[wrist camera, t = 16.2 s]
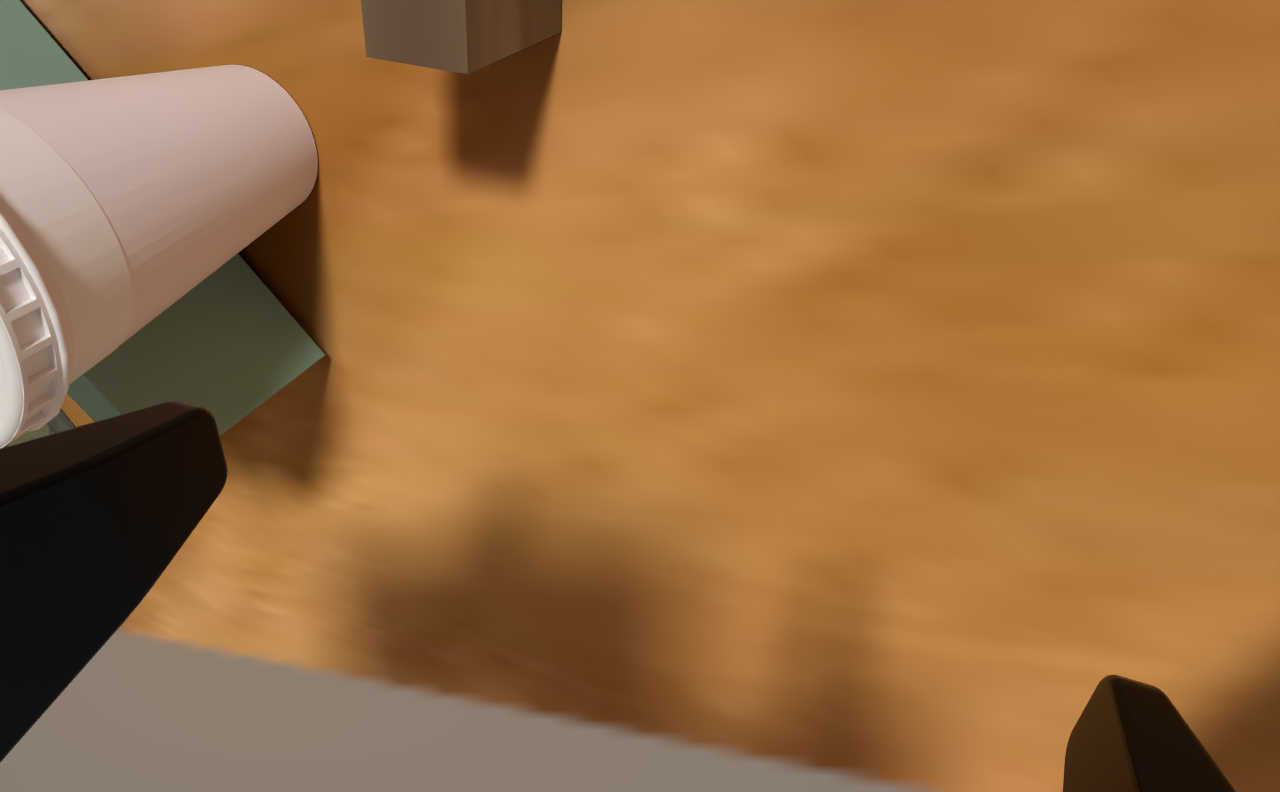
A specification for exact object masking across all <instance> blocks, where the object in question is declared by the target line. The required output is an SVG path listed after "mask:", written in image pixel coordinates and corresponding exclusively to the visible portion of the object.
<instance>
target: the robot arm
mask: <svg viewBox="0 0 1280 792" xmlns="http://www.w3.org/2000/svg"><path fill="white" fill-rule="evenodd" d="M227 472H228V469H227V463H226V459H225V455H224V451H223V447H222V443H221V439H220V435H219V431H218V427H217V422H216V420H215V417H214V416H213V414H212V413H211V412H210V411H209V410H207V409H205V408H202V407H199V406H196V405H192V404H189V403H185V402H182V401H168V402H164V403H160V404H157V405H153V406H150V407H146V408H142V409H139V410H135V411H132V412H128V413H125V414H121V415H118V416H114V417H110V418H107V419H103V420H100V421H96V422H93V423H89V424H86V425H82V426H78V427H75V428H71V429H68V430H64V431H61V432H57V433H54V434H50V435H46V436H43V437H39V438H36V439H32V440H29V441H25V442H22V443H18V444H14V445H11V446H7V447H4V448H0V762H1V761H2V760H3V759H4V758H5V757H6V755H7V754H8V753H9V752H10V751H11V750H12V749H13V747H14V746H15V745H16V744H17V743H18V742H19V741H20V739H21V738H22V737H23V736H24V735H25V734H26V733H27V732H28V730H29V729H30V728H31V727H32V726H33V724H35V722H36V721H37V720H38V719H39V718H40V717H41V715H42V714H43V713H44V712H45V711H46V710H47V709H48V708H49V707H50V705H51V704H52V703H53V702H54V701H55V700H56V699H57V697H58V696H59V695H60V694H61V693H62V692H63V691H64V689H65V688H66V687H67V686H68V685H69V684H70V683H71V682H72V680H73V679H74V678H75V677H76V676H77V675H78V674H79V672H80V671H81V670H82V669H83V668H84V667H85V666H86V664H87V663H88V662H89V661H90V660H91V659H92V657H93V656H94V655H95V654H96V653H97V652H98V651H99V650H100V648H101V647H102V646H103V645H104V644H105V643H106V642H107V641H108V639H109V638H110V637H111V636H112V635H113V634H114V633H115V631H116V630H117V629H118V628H119V627H120V626H121V625H122V624H123V622H124V621H125V620H126V619H127V618H128V616H129V615H130V614H131V613H132V612H133V611H134V609H135V608H136V607H137V606H138V605H139V603H140V602H141V601H142V599H143V598H144V597H145V596H146V594H147V593H148V592H149V590H150V589H151V588H152V586H153V585H154V584H155V582H156V581H157V580H158V578H159V577H160V575H161V574H162V573H163V571H164V570H165V569H166V567H167V566H168V564H169V563H170V562H171V560H172V559H173V558H174V556H175V555H176V553H177V552H178V551H179V549H180V548H181V546H182V545H183V544H184V542H185V541H186V540H187V538H188V537H189V535H190V534H191V533H192V531H193V530H194V529H195V527H196V526H197V524H198V523H199V522H200V520H201V519H202V518H203V516H204V515H205V513H206V512H207V511H208V509H209V508H210V506H211V505H212V504H213V502H214V501H215V500H216V498H217V497H218V495H219V494H220V493H221V491H222V489H223V487H224V485H225V483H226V479H227ZM1063 792H1236V791H1235V790H1234V789H1233V787H1232V786H1231V784H1230V783H1229V782H1228V780H1227V779H1226V778H1225V776H1224V775H1223V773H1222V772H1221V771H1220V769H1219V768H1218V766H1217V765H1216V764H1215V762H1214V761H1213V759H1212V758H1211V757H1210V755H1209V754H1208V752H1207V751H1206V750H1205V748H1204V747H1203V745H1202V744H1201V743H1200V741H1199V740H1198V738H1197V737H1196V736H1195V734H1194V733H1193V731H1192V730H1191V729H1190V727H1189V726H1188V724H1187V723H1186V722H1185V720H1184V719H1183V718H1182V716H1181V715H1180V713H1179V712H1178V711H1177V709H1176V708H1175V706H1174V705H1173V704H1172V702H1171V701H1170V699H1169V698H1168V697H1167V696H1166V694H1164V693H1163V692H1162V691H1161V690H1160V689H1158V688H1157V687H1154V686H1152V685H1148V684H1145V683H1142V682H1138V681H1135V680H1131V679H1128V678H1125V677H1121V676H1118V675H1108V676H1106V677H1105V678H1103V679H1102V680H1101V681H1100V682H1099V684H1098V685H1097V687H1096V689H1095V691H1094V693H1093V694H1092V696H1091V698H1090V700H1089V702H1088V703H1087V705H1086V707H1085V709H1084V711H1083V712H1082V714H1081V716H1080V718H1079V719H1078V721H1077V723H1076V725H1075V727H1074V728H1073V730H1072V732H1071V735H1070V738H1069V741H1068V745H1067V749H1066V755H1065V767H1064V783H1063Z"/></svg>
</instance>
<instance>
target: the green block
mask: <svg viewBox="0 0 1280 792" xmlns="http://www.w3.org/2000/svg"><path fill="white" fill-rule="evenodd" d="M80 81H89V80H88V79H87V78H86V77H85V76H84V75H83V73H82V72H81V71H80V70H79V69H78V68H77V67H76V65H75V64H74V63H73V62H72V61H71V60H70V58H69V57H68V56H67V55H66V54H65V53H64V51H63V50H62V49H61V48H60V47H59V46H58V44H57V43H56V42H55V41H54V40H53V39H52V38H51V36H50V35H49V34H48V33H47V32H46V31H45V29H44V28H43V27H42V26H41V25H40V24H39V22H38V21H37V20H36V19H35V18H34V17H33V15H32V14H31V13H30V12H29V11H28V10H27V9H26V7H25V6H24V5H23V4H22V3H21V2H20V0H0V90H8V89H17V88H26V87H35V86H44V85H53V84H62V83H71V82H80ZM323 356H325V354H324V353H323V352H322V351H321V349H320V348H319V347H318V346H317V345H316V344H315V343H314V341H313V340H312V339H311V338H310V337H309V336H308V334H307V333H306V332H305V331H304V330H303V329H302V327H301V326H300V325H299V324H298V323H297V322H296V320H295V319H294V318H293V317H292V316H291V315H290V314H289V312H288V311H287V310H286V309H285V308H284V307H283V305H282V304H281V303H280V302H279V301H278V300H277V298H276V297H275V296H274V295H273V294H272V293H271V291H270V290H269V289H268V288H267V287H266V286H265V285H264V283H263V282H262V281H261V280H260V279H259V278H258V276H257V275H256V274H255V273H254V272H253V271H252V269H251V268H250V267H249V266H248V265H247V264H246V263H245V261H244V260H243V259H242V258H241V257H240V256H239V254H238V253H237V254H236V255H235V256H233V257H232V258H231V259H230V260H228V261H227V262H226V263H224V264H223V265H222V266H221V267H219V268H218V269H217V270H216V271H214V272H213V273H212V274H210V275H209V276H208V277H207V278H205V279H204V280H203V281H201V282H200V283H199V284H198V285H196V286H195V287H194V288H193V289H191V290H190V291H189V292H187V293H186V294H185V295H184V296H182V297H181V298H180V299H178V300H177V301H176V302H175V303H173V304H172V305H171V306H170V307H168V308H167V309H166V310H164V311H163V312H162V313H161V314H159V315H158V316H157V317H155V318H154V319H153V320H152V321H150V322H149V323H148V324H147V325H145V326H144V327H143V328H141V329H140V330H139V331H138V332H136V333H135V334H134V335H132V336H131V337H130V338H129V339H127V340H126V341H125V342H124V343H122V344H121V345H120V346H119V347H118V348H117V349H115V350H114V351H113V352H112V353H111V354H109V355H108V356H107V357H105V358H104V359H103V360H101V361H100V362H99V363H97V364H96V365H95V366H93V367H92V368H91V369H89V370H88V371H87V372H85V373H84V374H83V375H81V376H80V377H79V378H77V379H76V380H75V381H73V382H72V383H71V384H69V390H68V392H67V393H68V395H69V396H70V397H71V398H72V399H73V400H74V401H75V402H76V403H77V404H78V405H79V406H80V407H81V408H82V409H83V410H84V411H85V412H86V413H87V414H88V415H89V416H90V417H91V418H92V419H93V420H94V421H95V422H96V421H100V420H103V419H107V418H110V417H114V416H118V415H121V414H125V413H128V412H132V411H135V410H139V409H142V408H146V407H150V406H153V405H157V404H160V403H164V402H168V401H182V402H185V403H189V404H192V405H196V406H199V407H202V408H205V409H207V410H209V411H210V412H211V413H212V414H213V416H214V417H215V420H216V422H217V427H218V431H219V435H220V436H221V435H222V434H223V433H225V432H226V431H227V430H229V429H230V428H231V427H233V426H234V425H235V424H236V423H238V422H239V421H240V420H242V419H243V418H244V417H245V416H247V415H248V414H249V413H251V412H252V411H253V410H255V409H256V408H257V407H258V406H260V405H261V404H262V403H264V402H265V401H266V400H268V399H269V398H270V397H271V396H273V395H274V394H275V393H277V392H278V391H279V390H280V389H282V388H283V387H284V386H286V385H287V384H288V383H290V382H291V381H292V380H293V379H295V378H296V377H297V376H299V375H300V374H301V373H303V372H304V371H305V370H306V369H308V368H309V367H310V366H312V365H313V364H314V363H315V362H317V361H318V360H319V359H321V358H322V357H323Z"/></svg>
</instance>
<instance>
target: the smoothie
mask: <svg viewBox="0 0 1280 792" xmlns="http://www.w3.org/2000/svg"><path fill="white" fill-rule="evenodd" d="M317 171H318V158H317V150H316V145H315V141H314V138H313V134H312V132H311V129H310V127H309V125H308V122H307V120H306V118H305V117H304V115H303V113H302V111H301V110H300V108H299V107H298V105H297V104H296V103H295V101H294V100H293V99H292V98H291V96H290V95H289V94H288V93H287V92H286V91H285V90H284V89H283V88H282V87H281V86H280V85H279V84H278V83H276V82H275V81H274V80H272V79H271V78H270V77H268V76H267V75H265V74H263V73H261V72H259V71H257V70H255V69H253V68H250V67H246V66H242V65H223V66H214V67H205V68H196V69H187V70H178V71H169V72H160V73H151V74H142V75H133V76H124V77H115V78H107V79H98V80H89V81H80V82H71V83H62V84H53V85H44V86H35V87H26V88H17V89H8V90H0V448H3V447H4V446H6V445H8V444H9V443H10V442H12V441H14V440H15V439H17V438H19V437H20V436H22V435H24V434H25V433H27V432H29V431H35V430H39V429H40V428H41V427H42V426H44V425H45V424H46V423H48V422H49V421H50V420H51V419H53V418H54V417H55V416H56V415H58V414H59V411H60V409H61V406H62V404H63V402H64V399H65V397H66V394H67V392H68V390H69V384H71V383H72V382H73V381H75V380H76V379H77V378H79V377H80V376H81V375H83V374H84V373H85V372H87V371H88V370H89V369H91V368H92V367H93V366H95V365H96V364H97V363H99V362H100V361H101V360H103V359H104V358H105V357H107V356H108V355H109V354H111V353H112V352H113V351H114V350H115V349H117V348H118V347H119V346H120V345H121V344H122V343H124V342H125V341H126V340H127V339H129V338H130V337H131V336H132V335H134V334H135V333H136V332H138V331H139V330H140V329H141V328H143V327H144V326H145V325H147V324H148V323H149V322H150V321H152V320H153V319H154V318H155V317H157V316H158V315H159V314H161V313H162V312H163V311H164V310H166V309H167V308H168V307H170V306H171V305H172V304H173V303H175V302H176V301H177V300H178V299H180V298H181V297H182V296H184V295H185V294H186V293H187V292H189V291H190V290H191V289H193V288H194V287H195V286H196V285H198V284H199V283H200V282H201V281H203V280H204V279H205V278H207V277H208V276H209V275H210V274H212V273H213V272H214V271H216V270H217V269H218V268H219V267H221V266H222V265H223V264H224V263H226V262H227V261H228V260H230V259H231V258H232V257H233V256H235V255H236V254H237V253H239V252H240V251H241V250H242V249H244V248H245V247H246V246H248V245H249V244H250V243H251V242H253V241H254V240H255V239H256V238H258V237H259V236H260V235H262V234H263V233H264V232H265V231H267V230H268V229H269V228H271V227H272V226H273V225H274V224H276V223H277V222H278V221H279V220H281V219H282V218H283V217H285V216H286V215H287V214H288V213H290V212H291V211H292V210H294V209H295V208H296V207H297V206H299V205H300V204H301V203H302V202H304V201H305V200H306V198H307V197H308V196H309V195H310V193H311V191H312V189H313V187H314V185H315V182H316V177H317Z"/></svg>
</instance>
